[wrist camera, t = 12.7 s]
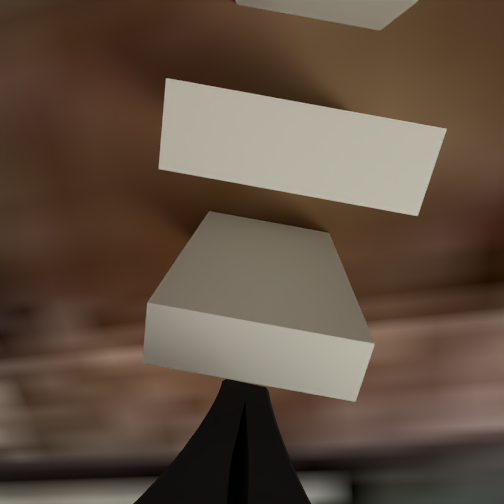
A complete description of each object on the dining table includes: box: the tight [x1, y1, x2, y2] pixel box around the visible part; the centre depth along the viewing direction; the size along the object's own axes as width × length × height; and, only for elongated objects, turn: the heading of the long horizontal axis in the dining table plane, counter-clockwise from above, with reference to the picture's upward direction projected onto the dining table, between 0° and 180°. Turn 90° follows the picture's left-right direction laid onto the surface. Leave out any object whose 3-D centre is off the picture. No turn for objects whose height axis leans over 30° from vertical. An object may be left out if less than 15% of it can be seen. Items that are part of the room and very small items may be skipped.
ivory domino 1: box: [159, 78, 447, 216], centre depth 11 cm, size 2×5×8 cm, turn 81°
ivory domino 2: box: [142, 211, 375, 402], centre depth 12 cm, size 2×5×8 cm, turn 80°
